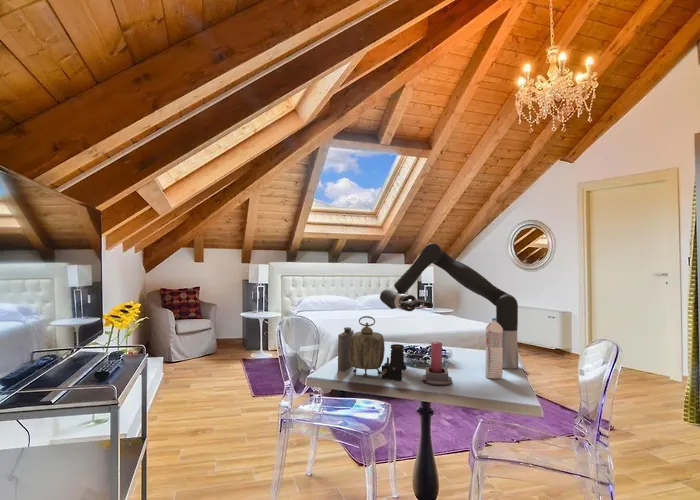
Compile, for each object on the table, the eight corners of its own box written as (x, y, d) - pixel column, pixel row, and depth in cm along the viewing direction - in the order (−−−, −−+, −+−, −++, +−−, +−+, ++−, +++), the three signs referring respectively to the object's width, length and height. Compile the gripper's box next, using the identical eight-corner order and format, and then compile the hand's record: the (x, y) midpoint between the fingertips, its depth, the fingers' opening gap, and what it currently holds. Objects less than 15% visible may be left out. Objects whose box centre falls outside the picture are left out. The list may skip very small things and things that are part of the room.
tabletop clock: (384, 374, 179) (385, 315, 179) (382, 380, 170) (383, 318, 170) (351, 371, 181) (351, 314, 182) (347, 377, 172) (348, 317, 173)
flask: (355, 364, 194) (356, 325, 195) (344, 372, 181) (345, 330, 181) (348, 363, 196) (348, 324, 196) (336, 371, 182) (337, 329, 182)
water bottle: (500, 381, 171) (501, 319, 171) (483, 378, 174) (484, 318, 175) (503, 376, 177) (504, 317, 177) (487, 374, 180) (487, 316, 181)
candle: (441, 376, 171) (441, 342, 171) (442, 379, 166) (442, 344, 167) (430, 375, 171) (430, 341, 172) (430, 379, 167) (431, 343, 167)
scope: (386, 342, 178) (409, 344, 173) (386, 374, 177) (409, 378, 173) (379, 345, 170) (403, 348, 166) (379, 379, 170) (403, 383, 166)
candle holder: (450, 378, 174) (450, 367, 174) (453, 387, 162) (453, 375, 162) (421, 376, 176) (421, 365, 176) (421, 385, 164) (421, 373, 164)
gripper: (391, 294, 192) (408, 297, 177) (418, 293, 197) (437, 296, 182) (391, 311, 192) (408, 315, 177) (418, 309, 197) (437, 313, 182)
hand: (423, 305), depth 180 cm, fingers open, 8 cm apart
